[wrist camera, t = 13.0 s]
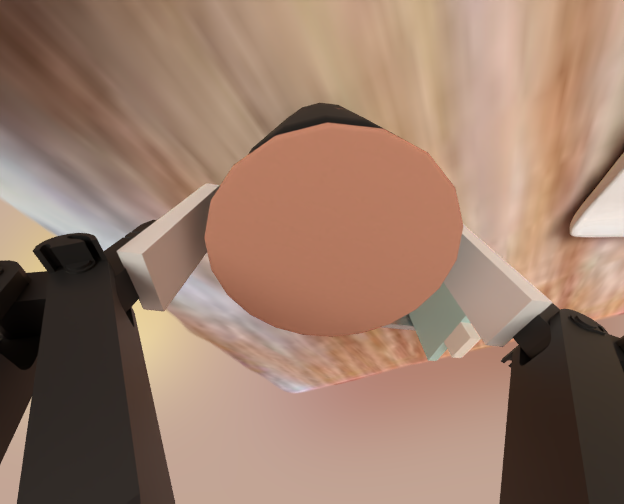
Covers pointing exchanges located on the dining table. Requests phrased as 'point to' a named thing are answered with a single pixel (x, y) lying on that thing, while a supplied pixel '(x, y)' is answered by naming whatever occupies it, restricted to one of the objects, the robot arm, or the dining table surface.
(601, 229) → the salad plate
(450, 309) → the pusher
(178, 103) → the dining table surface
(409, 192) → the coffee jar
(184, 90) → the dining table surface
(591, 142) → the dining table surface
